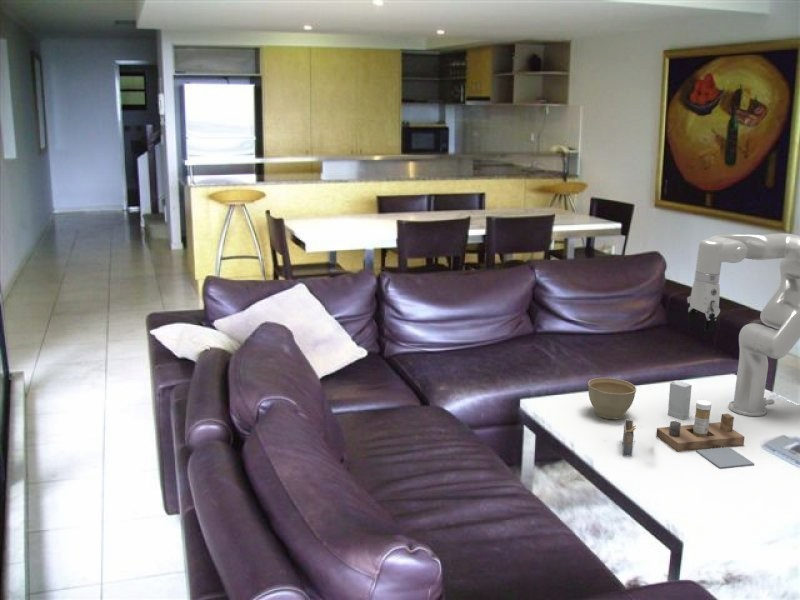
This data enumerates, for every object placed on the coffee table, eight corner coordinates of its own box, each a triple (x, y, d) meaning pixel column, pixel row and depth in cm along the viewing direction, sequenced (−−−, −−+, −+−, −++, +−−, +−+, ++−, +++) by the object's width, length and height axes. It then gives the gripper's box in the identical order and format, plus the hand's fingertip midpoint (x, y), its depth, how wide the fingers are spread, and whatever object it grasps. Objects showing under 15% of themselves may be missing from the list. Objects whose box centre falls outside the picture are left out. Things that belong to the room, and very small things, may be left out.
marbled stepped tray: (633, 457, 244) (635, 428, 241) (622, 456, 245) (625, 427, 242) (632, 442, 254) (635, 414, 252) (622, 441, 255) (625, 413, 253)
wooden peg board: (720, 430, 264) (723, 408, 262) (743, 445, 253) (746, 422, 251) (656, 436, 258) (658, 413, 256) (677, 452, 247) (679, 428, 245)
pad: (729, 448, 251) (729, 446, 250) (754, 465, 239) (754, 463, 239) (695, 451, 248) (696, 450, 248) (719, 468, 236) (719, 467, 236)
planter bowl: (626, 427, 265) (629, 397, 262) (579, 417, 273) (582, 387, 270) (638, 411, 279) (641, 382, 276) (593, 402, 286) (595, 374, 284)
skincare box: (689, 417, 275) (693, 384, 272) (682, 420, 272) (685, 387, 269) (673, 411, 279) (677, 379, 276) (666, 414, 277) (669, 382, 274)
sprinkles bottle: (699, 437, 259) (703, 398, 255) (709, 442, 255) (714, 403, 251) (688, 439, 257) (693, 400, 253) (699, 444, 253) (704, 405, 249)
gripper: (733, 283, 252) (725, 334, 256) (702, 271, 268) (695, 320, 272) (712, 283, 250) (704, 335, 254) (682, 271, 266) (675, 320, 270)
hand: (700, 327), depth 263 cm, fingers open, 9 cm apart
